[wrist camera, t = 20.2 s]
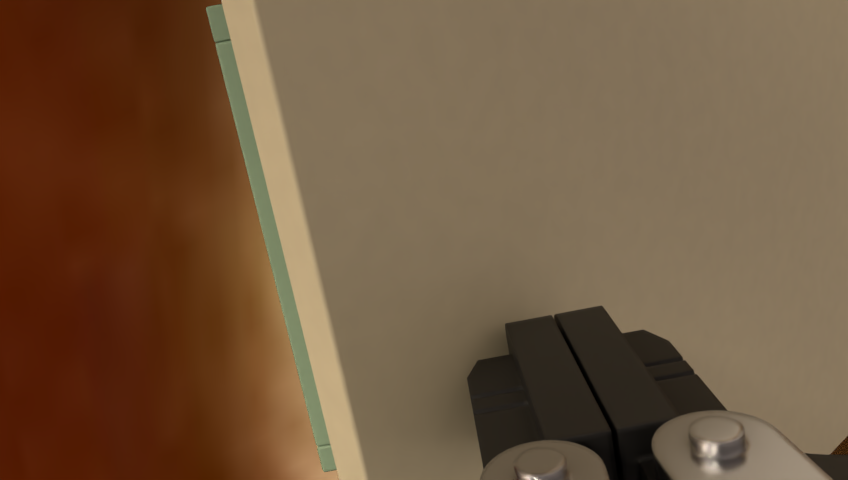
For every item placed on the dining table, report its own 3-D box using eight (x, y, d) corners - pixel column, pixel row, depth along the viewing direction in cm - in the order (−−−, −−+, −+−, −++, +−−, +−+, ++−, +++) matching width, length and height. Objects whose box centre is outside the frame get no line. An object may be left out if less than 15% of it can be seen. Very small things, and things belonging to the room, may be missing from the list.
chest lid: (422, 822, 13) (453, 857, 12) (205, -58, 9) (235, -72, 8) (867, 377, 23) (897, 384, 22) (853, -120, 19) (888, -128, 19)
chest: (343, 353, 32) (322, 473, 23) (264, 11, 28) (204, 6, 20) (744, 278, 32) (873, 374, 23) (718, -77, 28) (860, -121, 19)
